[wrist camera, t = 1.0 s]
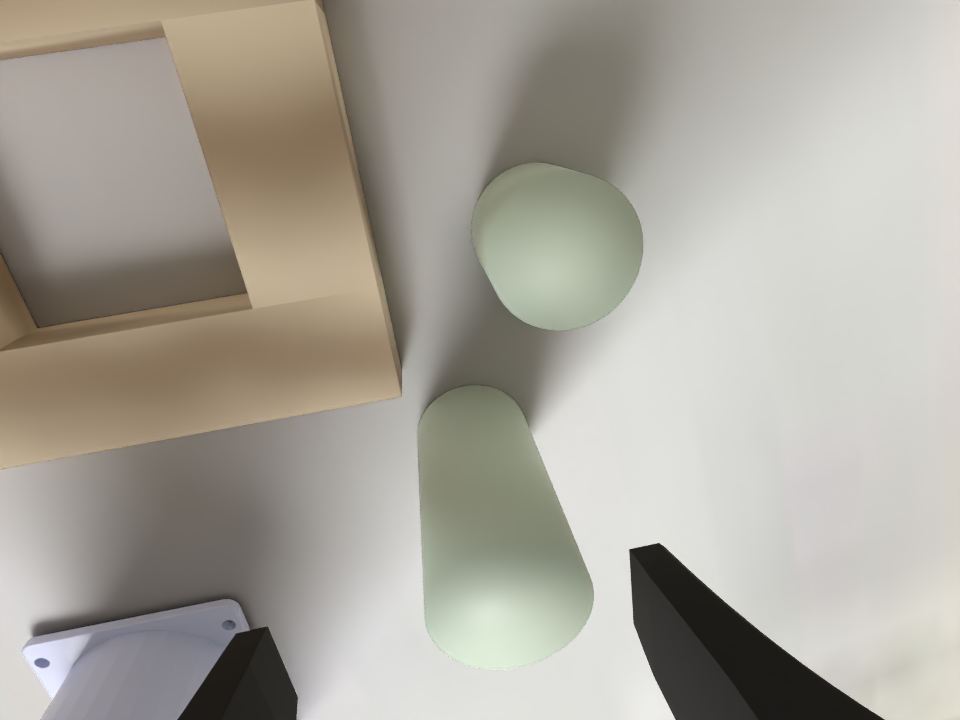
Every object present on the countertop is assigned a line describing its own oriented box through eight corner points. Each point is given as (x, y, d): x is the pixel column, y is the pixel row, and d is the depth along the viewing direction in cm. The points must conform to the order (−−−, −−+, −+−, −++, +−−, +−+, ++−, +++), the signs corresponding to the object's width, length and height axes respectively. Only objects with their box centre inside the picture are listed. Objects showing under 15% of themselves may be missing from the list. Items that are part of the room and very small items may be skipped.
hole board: (402, 370, 19) (401, 397, 17) (-25, 446, 18) (-73, 482, 16) (288, -154, 13) (270, -198, 12) (-335, -78, 13) (-460, -112, 11)
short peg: (597, 278, 19) (644, 316, 15) (480, 299, 19) (498, 342, 15) (591, 152, 17) (641, 160, 13) (462, 173, 17) (477, 187, 13)
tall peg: (531, 469, 21) (598, 650, 14) (427, 489, 21) (440, 684, 14) (520, 375, 20) (588, 524, 12) (407, 396, 19) (409, 560, 12)
